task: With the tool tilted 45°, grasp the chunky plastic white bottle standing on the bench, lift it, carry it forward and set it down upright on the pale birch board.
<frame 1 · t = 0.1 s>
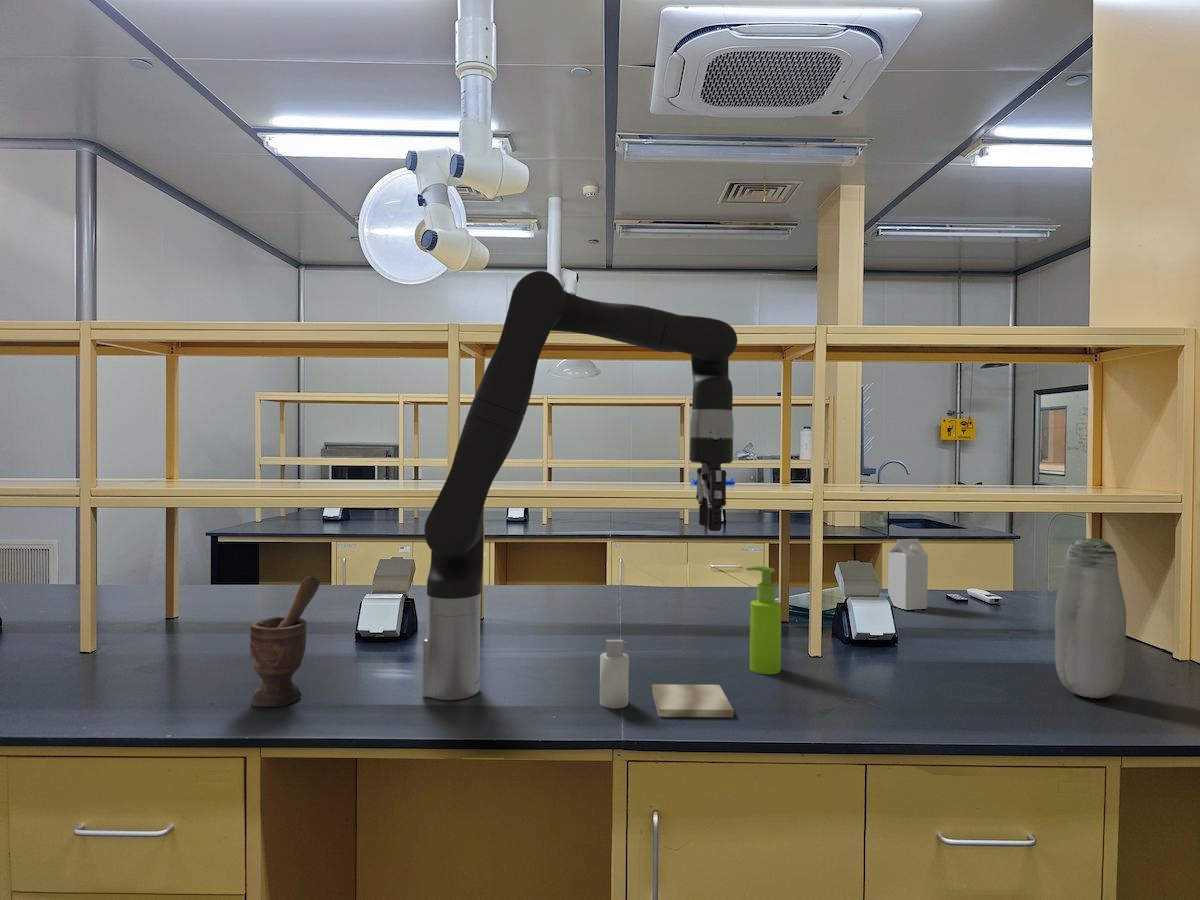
hand: (709, 528, 125), 29 cm above the lab bench, tool pointing down, fingers open, 8 cm apart
board: (690, 703, 120), on the lab bench
milk carton: (907, 608, 196), on the lab bench
mortar and pestle: (283, 698, 120), on the lab bench
soap dispenser: (762, 670, 139), on the lab bench
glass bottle: (1088, 696, 127), on the lab bench
white bottle: (613, 703, 120), on the lab bench
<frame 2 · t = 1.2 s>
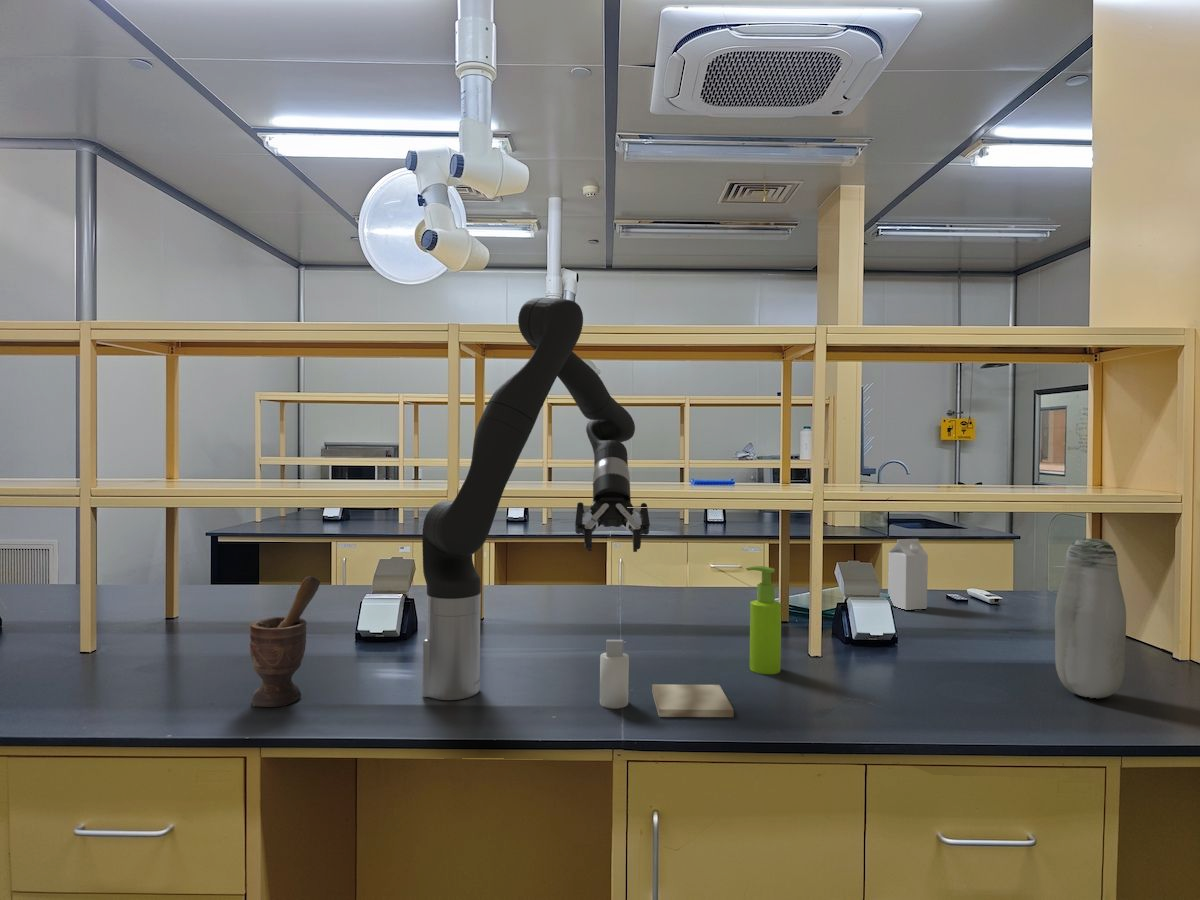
hand: (612, 549, 133), 24 cm above the lab bench, tool tilted 45°, fingers open, 8 cm apart
nothing on the lab bench moved.
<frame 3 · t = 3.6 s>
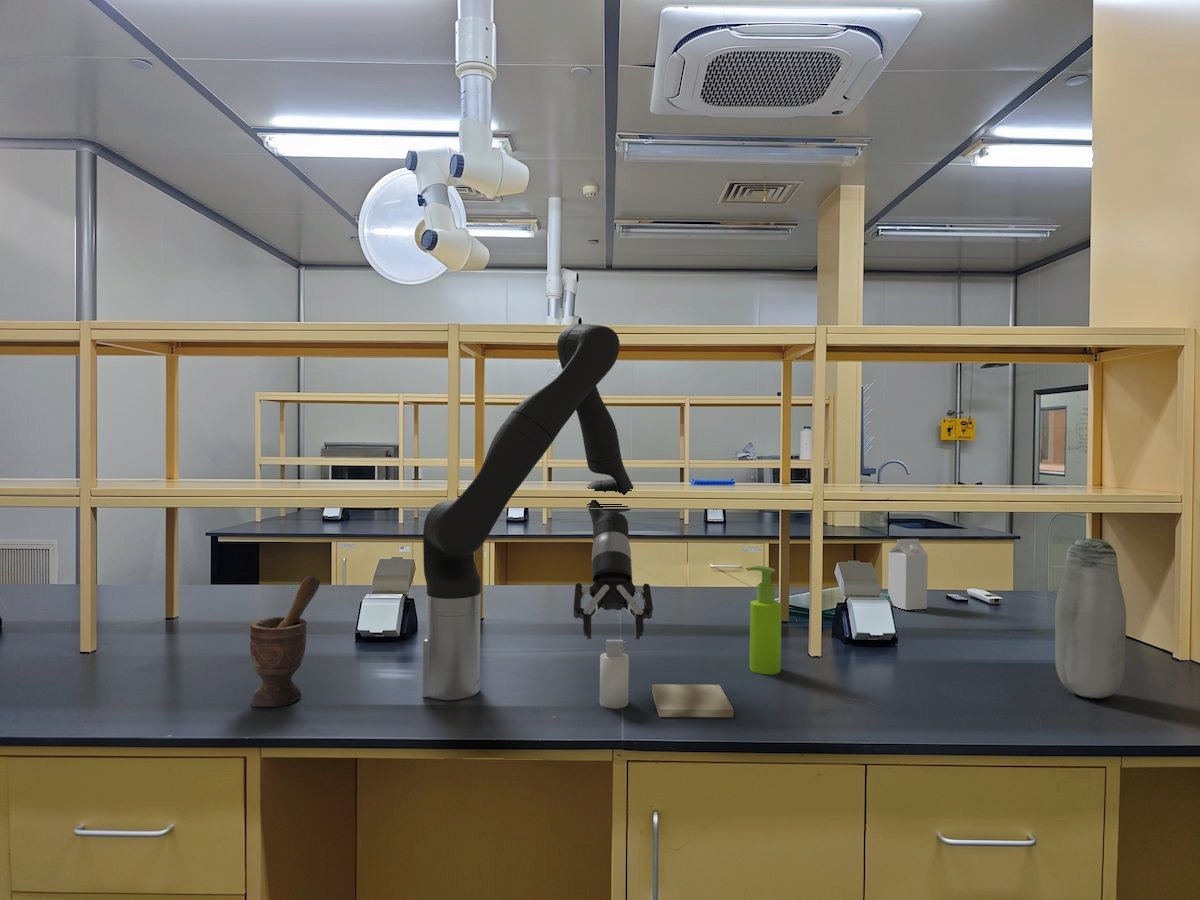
hand: (613, 637, 124), 10 cm above the lab bench, tool tilted 45°, fingers open, 8 cm apart
nothing on the lab bench moved.
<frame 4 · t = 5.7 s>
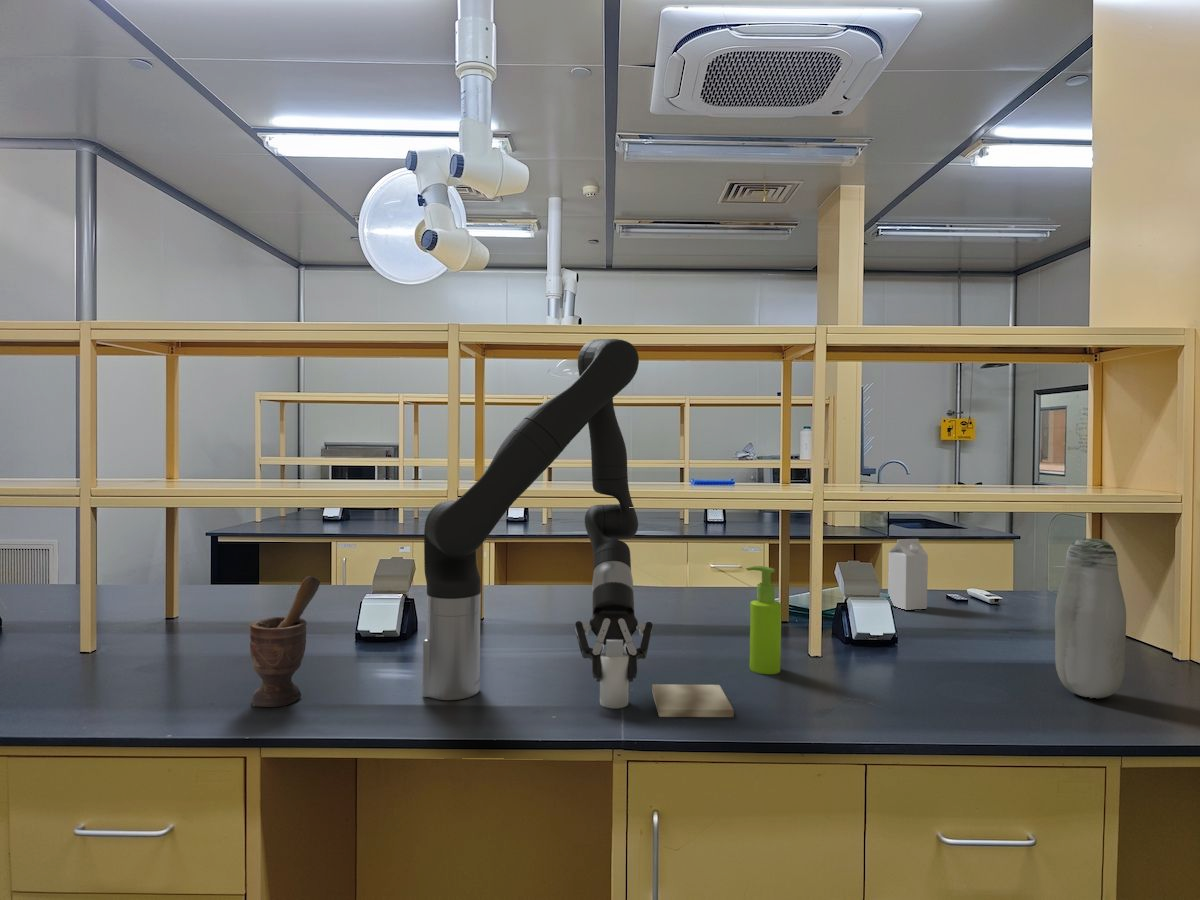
hand: (614, 679, 118), 5 cm above the lab bench, tool tilted 45°, fingers closed on white bottle, 4 cm apart
white bottle: (613, 703, 120), on the lab bench, touching gripper
everything else where it was.
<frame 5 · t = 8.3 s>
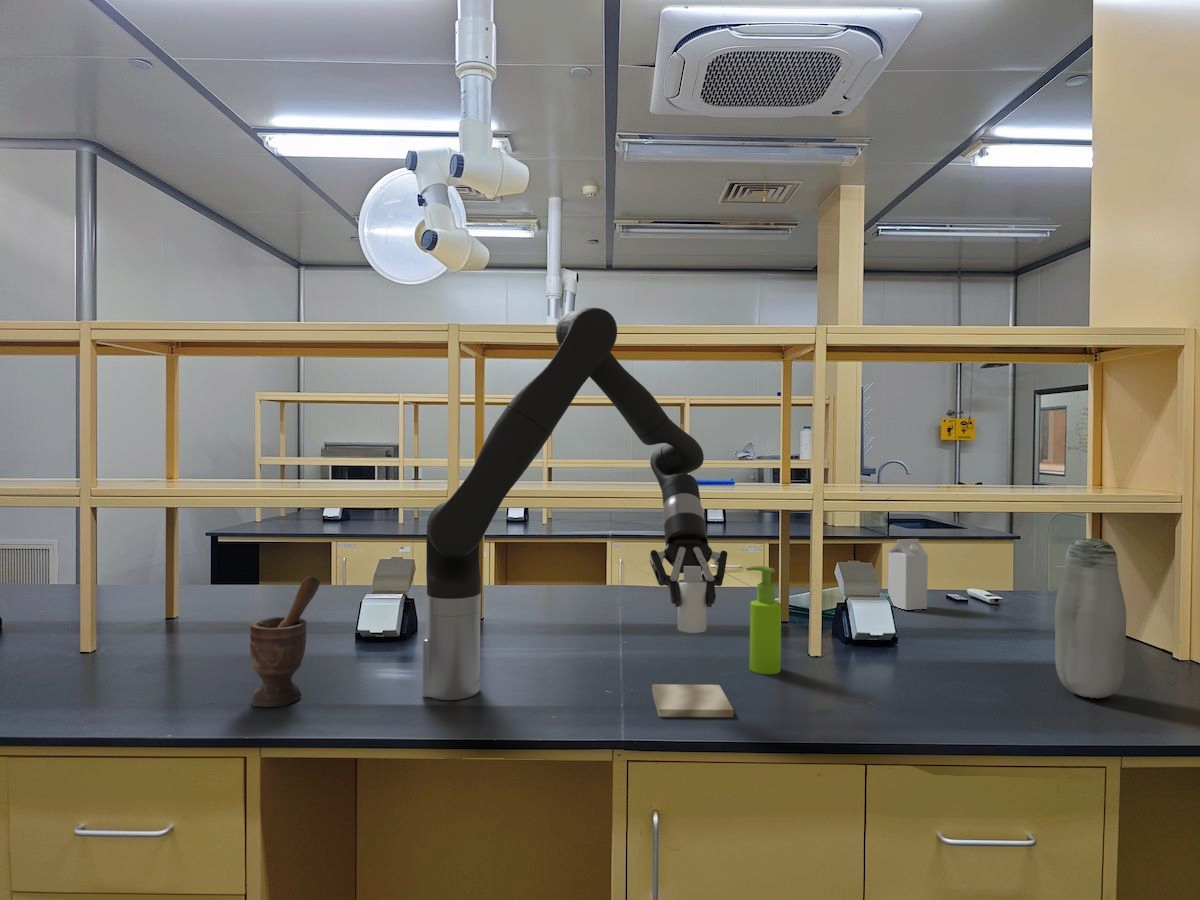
hand: (694, 604, 118), 17 cm above the lab bench, tool tilted 45°, fingers closed on white bottle, 4 cm apart
white bottle: (691, 629, 120), point 13 cm above the lab bench, touching gripper
everything else where it was.
when the fingers open (6 cm above the lab bench, at t = 10.7 s): white bottle stays where it is, resting on board.
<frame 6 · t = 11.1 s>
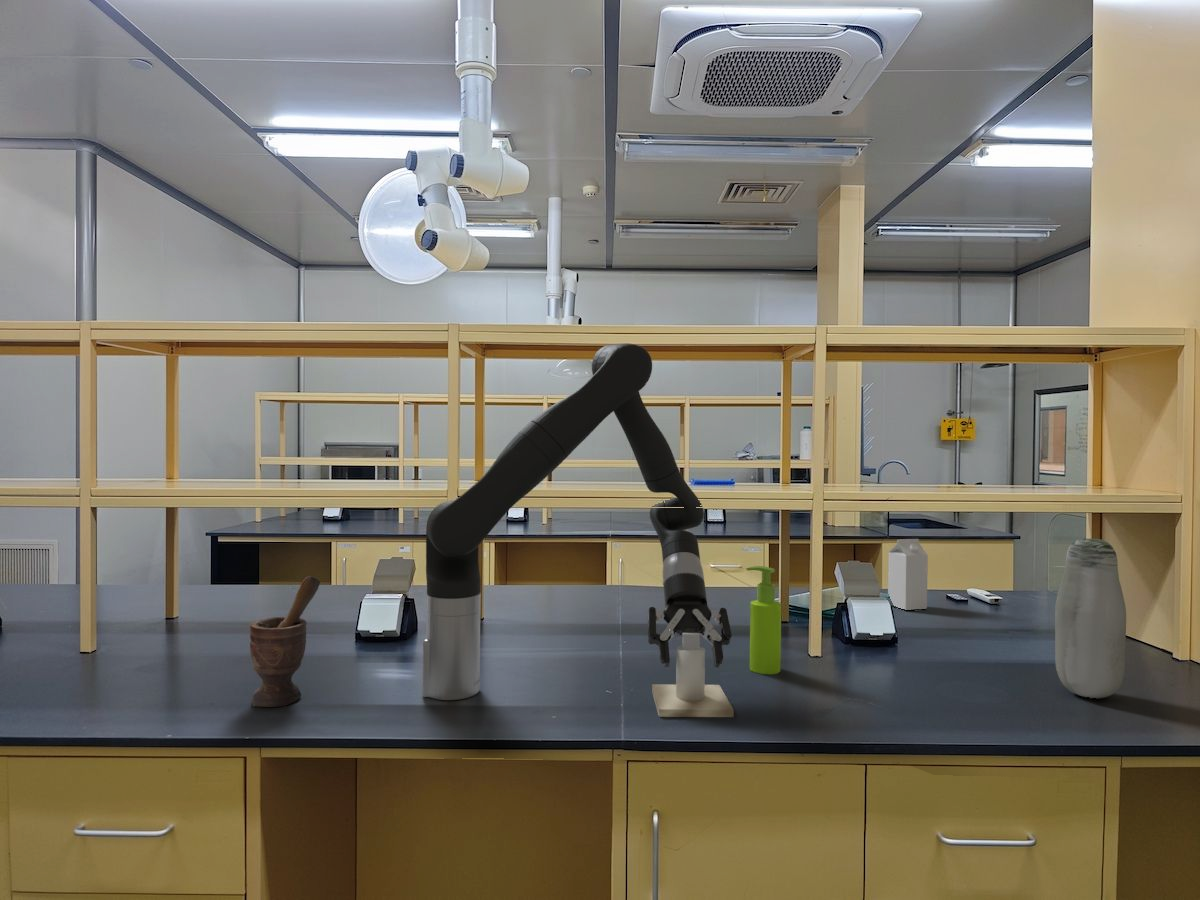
hand: (692, 665, 119), 7 cm above the lab bench, tool tilted 45°, fingers open, 8 cm apart
white bottle: (690, 696, 120), point 1 cm above the lab bench, touching board
everything else where it was.
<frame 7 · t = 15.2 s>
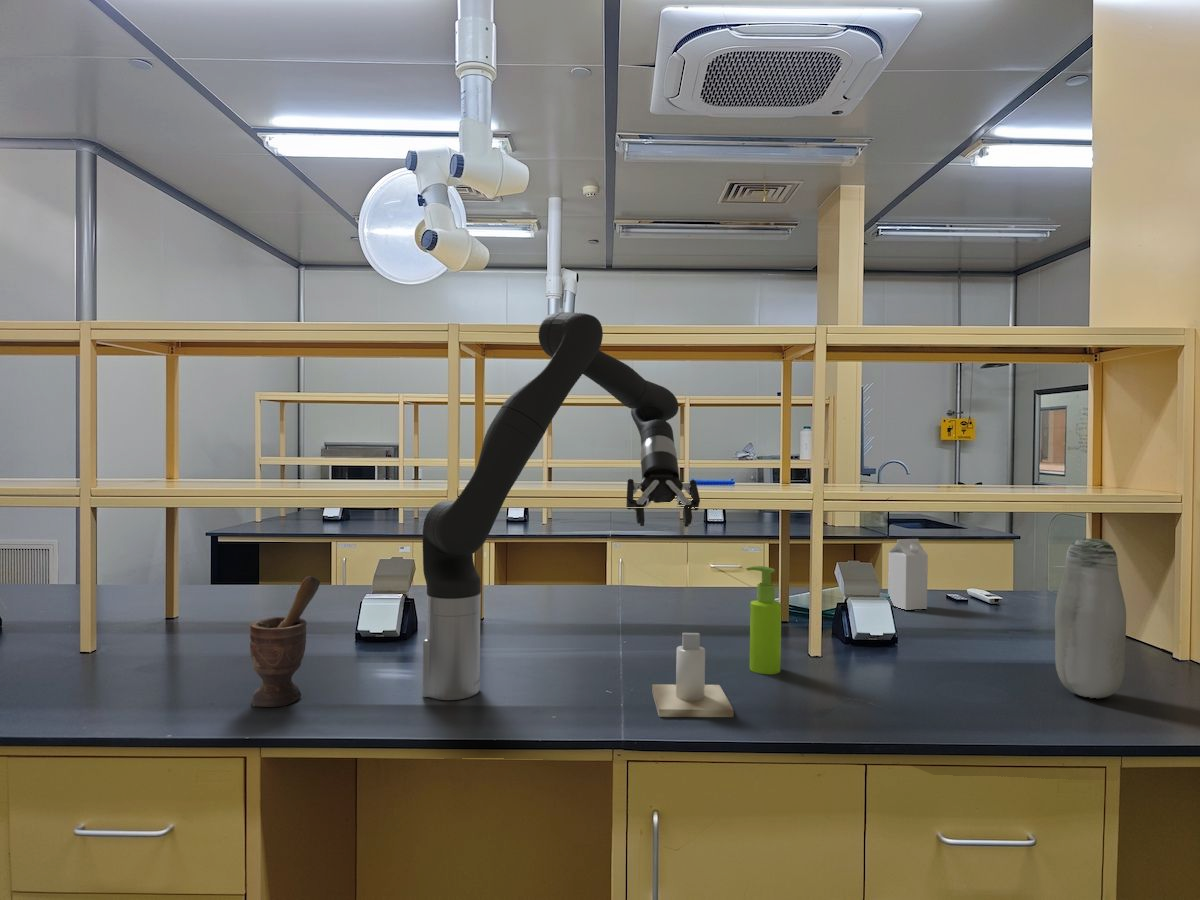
hand: (664, 523, 135), 29 cm above the lab bench, tool tilted 45°, fingers open, 8 cm apart
nothing on the lab bench moved.
at the end: white bottle inside the target area on the board (0.1 cm from its centre), point 1.2 cm above the board's base; white bottle tilted 0°; the gripper is holding nothing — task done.
